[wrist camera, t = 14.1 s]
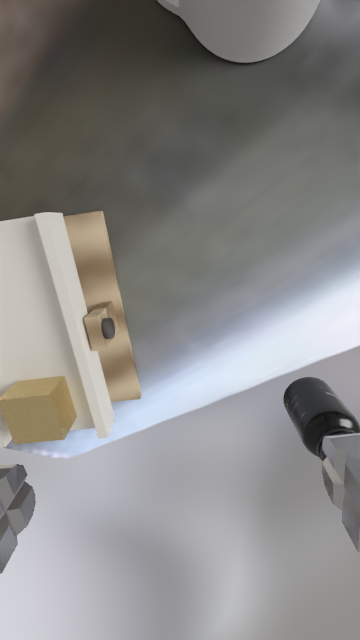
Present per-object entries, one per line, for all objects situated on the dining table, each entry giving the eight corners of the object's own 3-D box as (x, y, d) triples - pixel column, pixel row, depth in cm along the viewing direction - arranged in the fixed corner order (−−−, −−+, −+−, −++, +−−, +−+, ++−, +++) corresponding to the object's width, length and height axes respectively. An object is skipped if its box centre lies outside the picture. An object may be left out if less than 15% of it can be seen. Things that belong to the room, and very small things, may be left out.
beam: (-66, 232, 31) (-96, 234, 28) (62, 212, 30) (46, 212, 27) (12, 428, 40) (-4, 447, 36) (114, 418, 38) (107, 437, 35)
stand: (-51, 234, 37) (-109, 237, 29) (102, 211, 35) (80, 208, 28) (14, 408, 45) (-19, 443, 37) (141, 394, 43) (131, 428, 36)
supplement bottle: (332, 375, 41) (387, 433, 30) (325, 415, 43) (374, 484, 32) (284, 375, 41) (319, 432, 30) (279, 415, 44) (311, 483, 32)
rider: (17, 381, 35) (-4, 400, 31) (64, 375, 35) (49, 394, 31) (32, 421, 37) (14, 444, 33) (77, 416, 37) (64, 439, 33)
